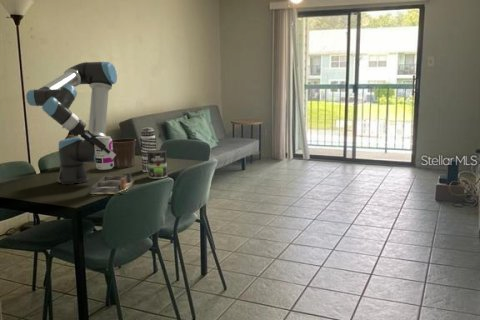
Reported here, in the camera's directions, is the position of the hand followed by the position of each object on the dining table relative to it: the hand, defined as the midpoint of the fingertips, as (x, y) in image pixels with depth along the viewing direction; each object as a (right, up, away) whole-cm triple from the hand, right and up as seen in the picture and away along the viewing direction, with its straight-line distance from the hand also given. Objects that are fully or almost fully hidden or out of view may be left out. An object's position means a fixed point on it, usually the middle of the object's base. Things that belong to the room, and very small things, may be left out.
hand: (111, 155), depth 229 cm
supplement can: (-3, -6, -1) cm, 7 cm away
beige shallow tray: (-1, -16, +8) cm, 18 cm away
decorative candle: (+9, -8, +48) cm, 50 cm away
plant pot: (-9, -6, +63) cm, 64 cm away
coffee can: (+17, -11, +32) cm, 38 cm away
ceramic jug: (-40, -6, +65) cm, 77 cm away
